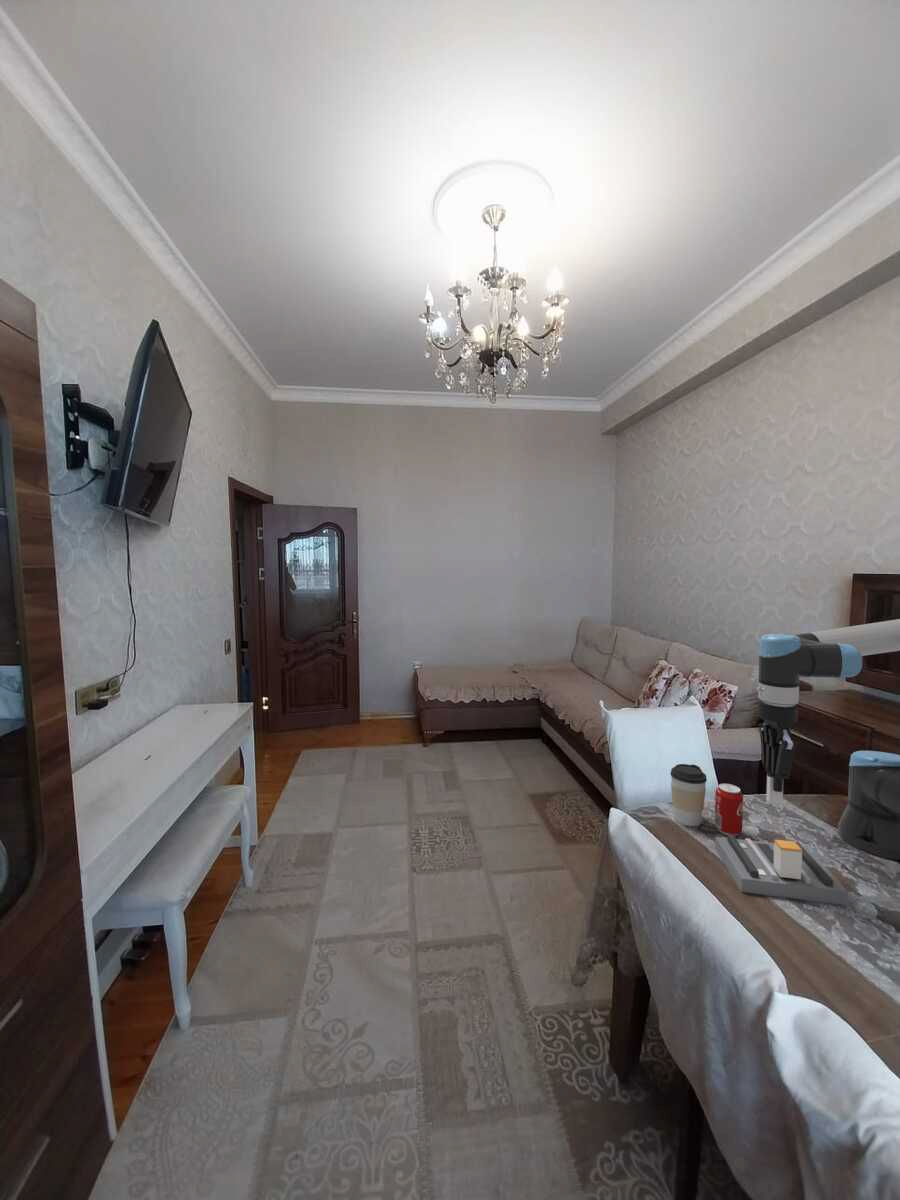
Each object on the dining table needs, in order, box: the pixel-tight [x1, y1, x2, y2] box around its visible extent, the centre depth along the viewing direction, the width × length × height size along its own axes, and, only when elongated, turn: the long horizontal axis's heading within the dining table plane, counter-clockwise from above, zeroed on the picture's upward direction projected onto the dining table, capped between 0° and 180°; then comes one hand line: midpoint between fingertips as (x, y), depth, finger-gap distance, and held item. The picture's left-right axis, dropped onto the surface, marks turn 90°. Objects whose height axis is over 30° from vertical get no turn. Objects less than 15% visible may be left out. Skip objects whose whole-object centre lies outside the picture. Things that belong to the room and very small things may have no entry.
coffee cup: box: [669, 763, 708, 827], centre depth 129 cm, size 9×9×15 cm
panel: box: [714, 836, 849, 906], centre depth 106 cm, size 20×16×4 cm
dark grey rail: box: [726, 835, 759, 878], centre depth 107 cm, size 2×14×4 cm, turn 168°
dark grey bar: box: [795, 841, 833, 887], centre depth 104 cm, size 2×14×4 cm, turn 168°
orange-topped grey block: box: [773, 839, 802, 879], centre depth 100 cm, size 4×3×7 cm
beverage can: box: [714, 783, 744, 837], centre depth 123 cm, size 6×6×12 cm
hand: (774, 802), depth 107 cm, fingers closed
